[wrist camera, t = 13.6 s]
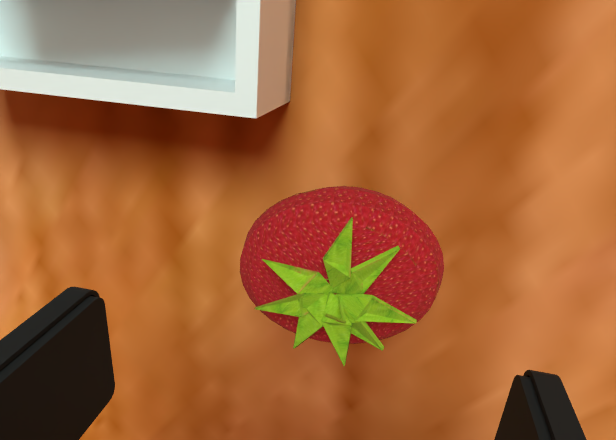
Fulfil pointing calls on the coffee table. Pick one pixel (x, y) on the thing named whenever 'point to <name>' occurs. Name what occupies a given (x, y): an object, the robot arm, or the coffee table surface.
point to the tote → (152, 52)
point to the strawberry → (341, 266)
